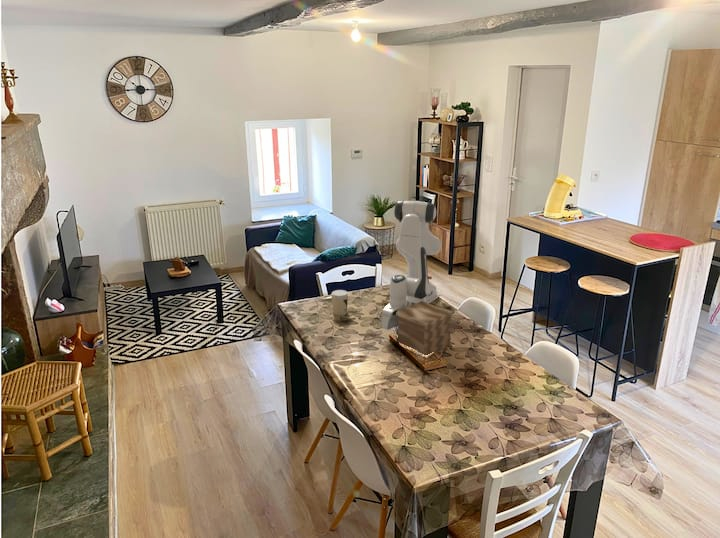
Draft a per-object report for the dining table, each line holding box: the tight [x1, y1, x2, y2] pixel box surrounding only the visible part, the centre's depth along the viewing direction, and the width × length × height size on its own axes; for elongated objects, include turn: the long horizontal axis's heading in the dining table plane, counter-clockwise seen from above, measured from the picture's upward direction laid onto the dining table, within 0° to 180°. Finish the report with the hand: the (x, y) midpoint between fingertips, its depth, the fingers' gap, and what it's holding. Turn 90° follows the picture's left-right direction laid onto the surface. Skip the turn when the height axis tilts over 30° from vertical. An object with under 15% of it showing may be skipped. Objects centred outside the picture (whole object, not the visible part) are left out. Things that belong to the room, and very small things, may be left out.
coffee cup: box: [330, 289, 349, 316], centre depth 307 cm, size 9×9×12 cm
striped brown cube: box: [396, 301, 453, 355], centre depth 268 cm, size 19×19×18 cm
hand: (397, 331), depth 282 cm, fingers closed
